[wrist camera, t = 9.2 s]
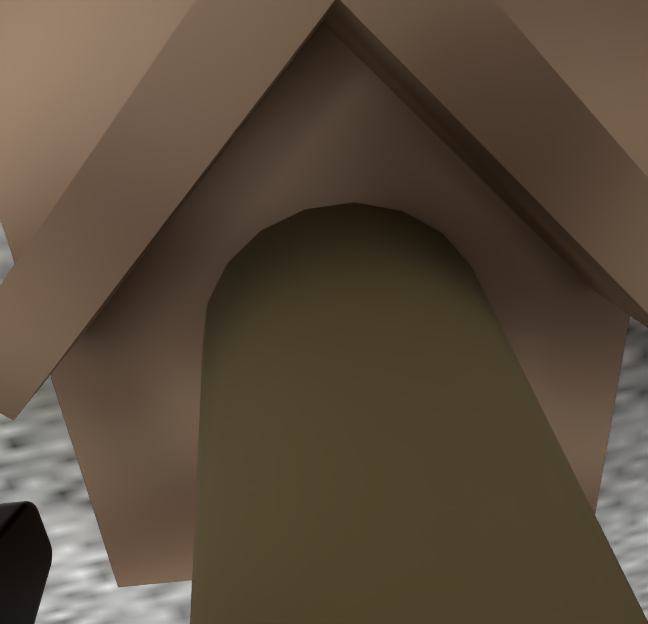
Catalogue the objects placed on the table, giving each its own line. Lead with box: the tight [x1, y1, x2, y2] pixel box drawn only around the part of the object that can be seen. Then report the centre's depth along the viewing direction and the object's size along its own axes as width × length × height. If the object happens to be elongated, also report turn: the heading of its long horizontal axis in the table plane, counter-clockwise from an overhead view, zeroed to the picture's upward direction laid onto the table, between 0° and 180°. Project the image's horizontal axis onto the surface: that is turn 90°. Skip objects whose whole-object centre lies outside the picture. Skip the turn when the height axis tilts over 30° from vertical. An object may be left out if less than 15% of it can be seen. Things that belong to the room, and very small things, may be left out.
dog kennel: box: [0, 0, 648, 587], centre depth 10 cm, size 15×12×4 cm
